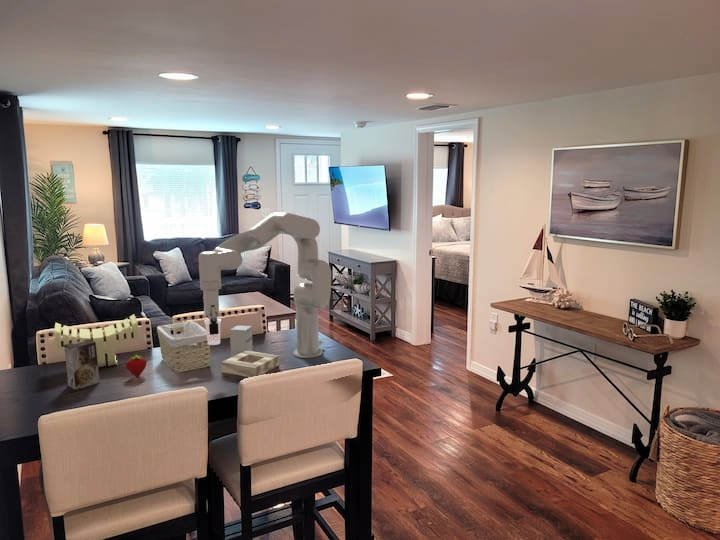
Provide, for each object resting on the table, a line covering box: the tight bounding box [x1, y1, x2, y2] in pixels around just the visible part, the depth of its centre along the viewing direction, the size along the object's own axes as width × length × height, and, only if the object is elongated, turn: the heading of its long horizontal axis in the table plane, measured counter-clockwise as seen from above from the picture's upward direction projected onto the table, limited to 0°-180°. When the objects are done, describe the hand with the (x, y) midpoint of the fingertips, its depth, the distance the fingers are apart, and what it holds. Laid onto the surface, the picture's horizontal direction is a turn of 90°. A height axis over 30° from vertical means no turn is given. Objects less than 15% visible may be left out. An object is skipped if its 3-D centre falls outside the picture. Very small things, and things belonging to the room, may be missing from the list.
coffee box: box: [63, 339, 101, 390], centre depth 197 cm, size 9×6×16 cm
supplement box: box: [229, 325, 254, 358], centre depth 230 cm, size 7×7×13 cm
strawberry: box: [125, 352, 148, 378], centre depth 205 cm, size 6×8×10 cm
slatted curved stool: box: [53, 313, 140, 368], centre depth 220 cm, size 30×16×18 cm, turn 118°
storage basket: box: [156, 320, 211, 373], centre depth 221 cm, size 24×16×15 cm
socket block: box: [220, 350, 280, 380], centre depth 211 cm, size 16×16×6 cm
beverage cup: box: [204, 317, 222, 346], centre depth 199 cm, size 6×6×14 cm
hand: (213, 331), depth 199 cm, fingers closed on beverage cup, 6 cm apart
